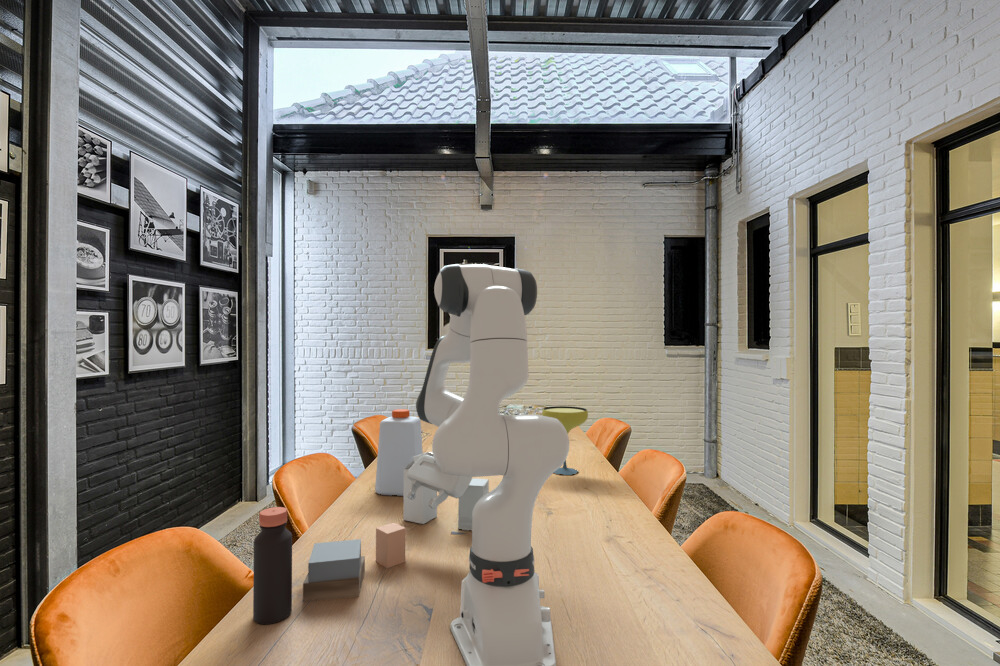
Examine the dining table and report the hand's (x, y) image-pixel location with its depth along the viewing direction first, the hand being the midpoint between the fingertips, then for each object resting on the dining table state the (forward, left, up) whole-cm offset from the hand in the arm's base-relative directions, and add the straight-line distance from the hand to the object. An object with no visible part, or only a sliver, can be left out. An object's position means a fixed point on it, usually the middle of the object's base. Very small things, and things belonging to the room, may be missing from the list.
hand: (420, 503), depth 124 cm
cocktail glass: (+65, -57, -12) cm, 87 cm away
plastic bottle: (+51, +7, -12) cm, 53 cm away
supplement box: (+14, -15, -12) cm, 24 cm away
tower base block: (-15, +18, -12) cm, 26 cm away
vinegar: (-25, +28, -12) cm, 39 cm away
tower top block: (-15, +18, -8) cm, 25 cm away
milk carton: (+22, 0, -12) cm, 25 cm away
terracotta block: (-5, +7, -12) cm, 15 cm away
